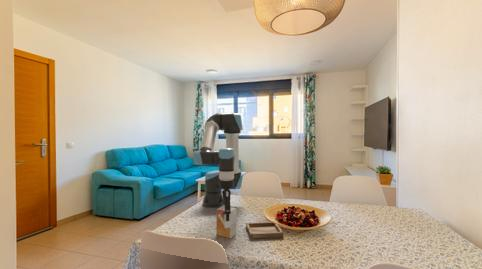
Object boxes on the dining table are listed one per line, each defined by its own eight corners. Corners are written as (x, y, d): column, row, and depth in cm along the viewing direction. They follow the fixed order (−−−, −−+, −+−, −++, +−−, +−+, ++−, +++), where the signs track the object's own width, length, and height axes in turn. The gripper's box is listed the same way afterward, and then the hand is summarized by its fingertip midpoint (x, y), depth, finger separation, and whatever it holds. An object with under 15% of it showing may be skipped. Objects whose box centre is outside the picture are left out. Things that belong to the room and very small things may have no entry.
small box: (216, 235, 115) (216, 209, 115) (223, 230, 120) (223, 205, 120) (230, 238, 111) (229, 211, 111) (236, 233, 116) (236, 208, 116)
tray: (246, 227, 124) (246, 223, 124) (275, 226, 126) (275, 221, 126) (250, 239, 110) (250, 234, 110) (283, 237, 112) (283, 232, 112)
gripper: (218, 175, 127) (218, 214, 127) (219, 184, 102) (219, 232, 102) (231, 175, 128) (231, 213, 128) (236, 184, 103) (236, 231, 103)
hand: (226, 222), depth 115 cm, fingers open, 13 cm apart
